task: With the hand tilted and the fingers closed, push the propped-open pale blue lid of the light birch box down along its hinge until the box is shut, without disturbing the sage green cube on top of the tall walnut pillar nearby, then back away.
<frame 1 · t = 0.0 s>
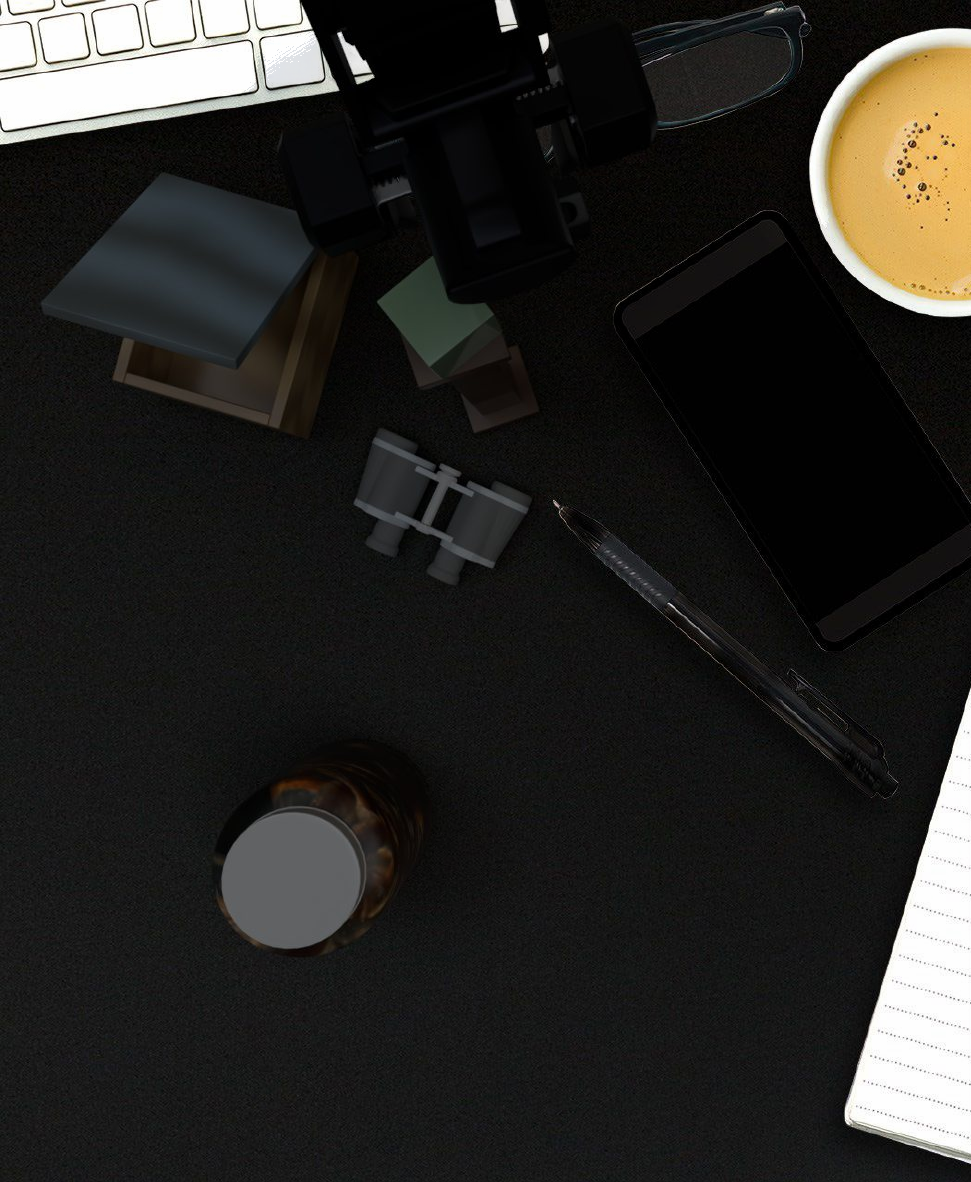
hand: (488, 194, 62), 13 cm above the table, tool pointing down, fingers open, 9 cm apart
box: (257, 326, 76), on the table
cube: (448, 325, 54), point 22 cm above the table, touching pillar
lid: (197, 264, 64), point 12 cm above the table, hinge at 40.0°
binoculars: (437, 514, 77), on the table
pillar: (497, 391, 76), on the table
jar: (354, 816, 78), on the table
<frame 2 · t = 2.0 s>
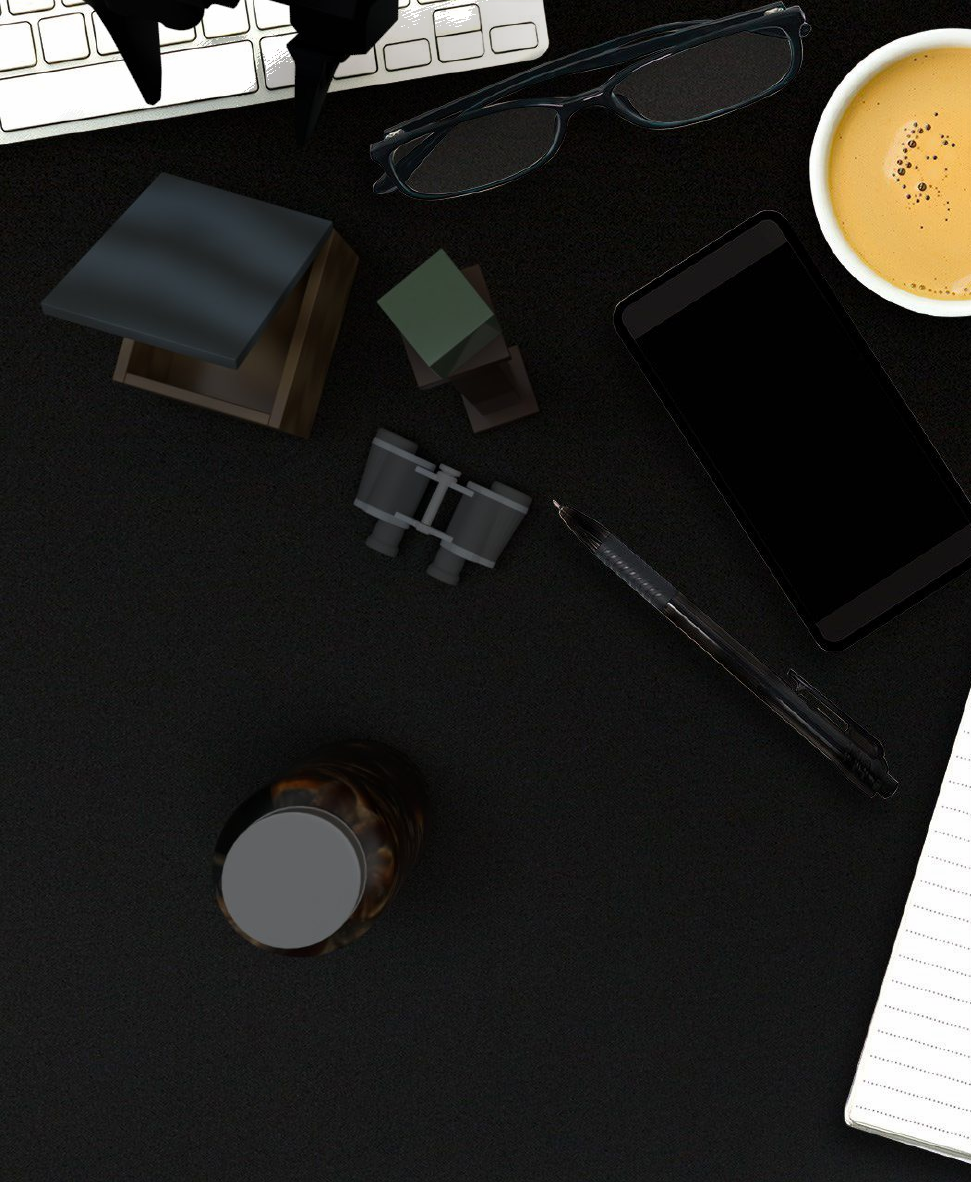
hand: (228, 123, 62), 13 cm above the table, tool tilted 45°, fingers open, 9 cm apart
nothing on the table moved.
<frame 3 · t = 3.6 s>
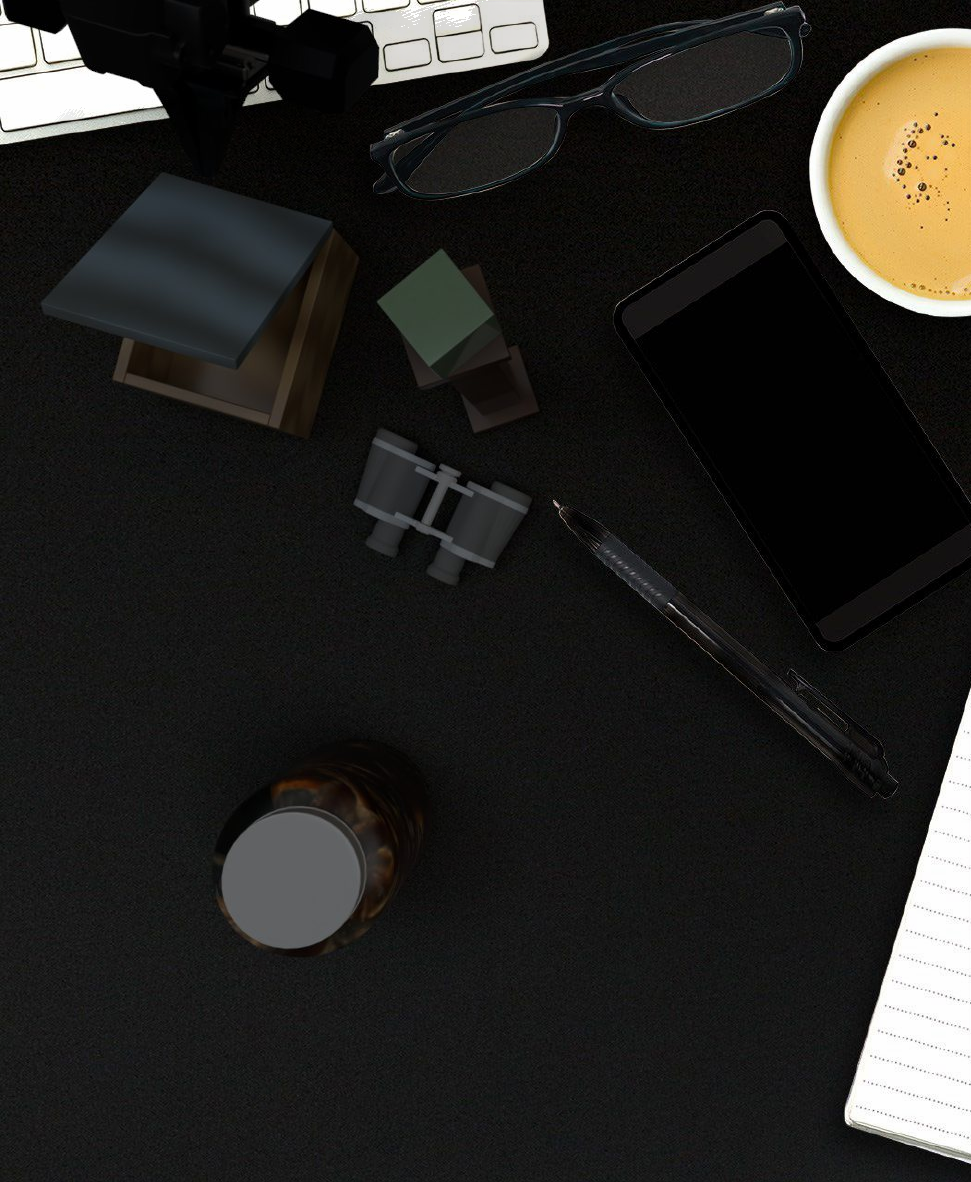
hand: (208, 175, 62), 14 cm above the table, tool tilted 45°, fingers closed
nothing on the table moved.
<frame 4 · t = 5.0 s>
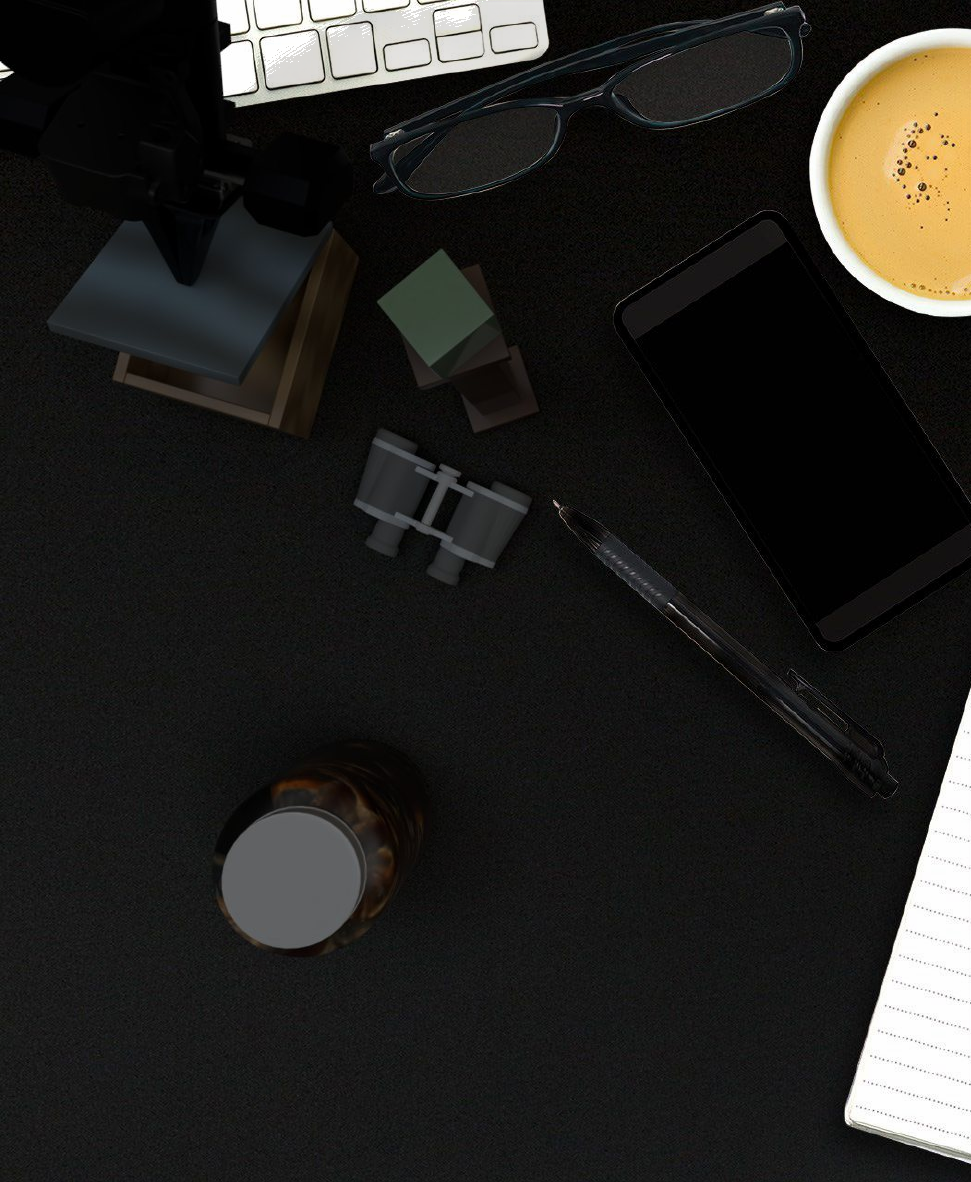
hand: (187, 281, 64), 12 cm above the table, tool tilted 45°, fingers closed, pressing on lid
lid: (198, 273, 65), point 11 cm above the table, hinge at 34.6°, touching gripper
everything else where it was.
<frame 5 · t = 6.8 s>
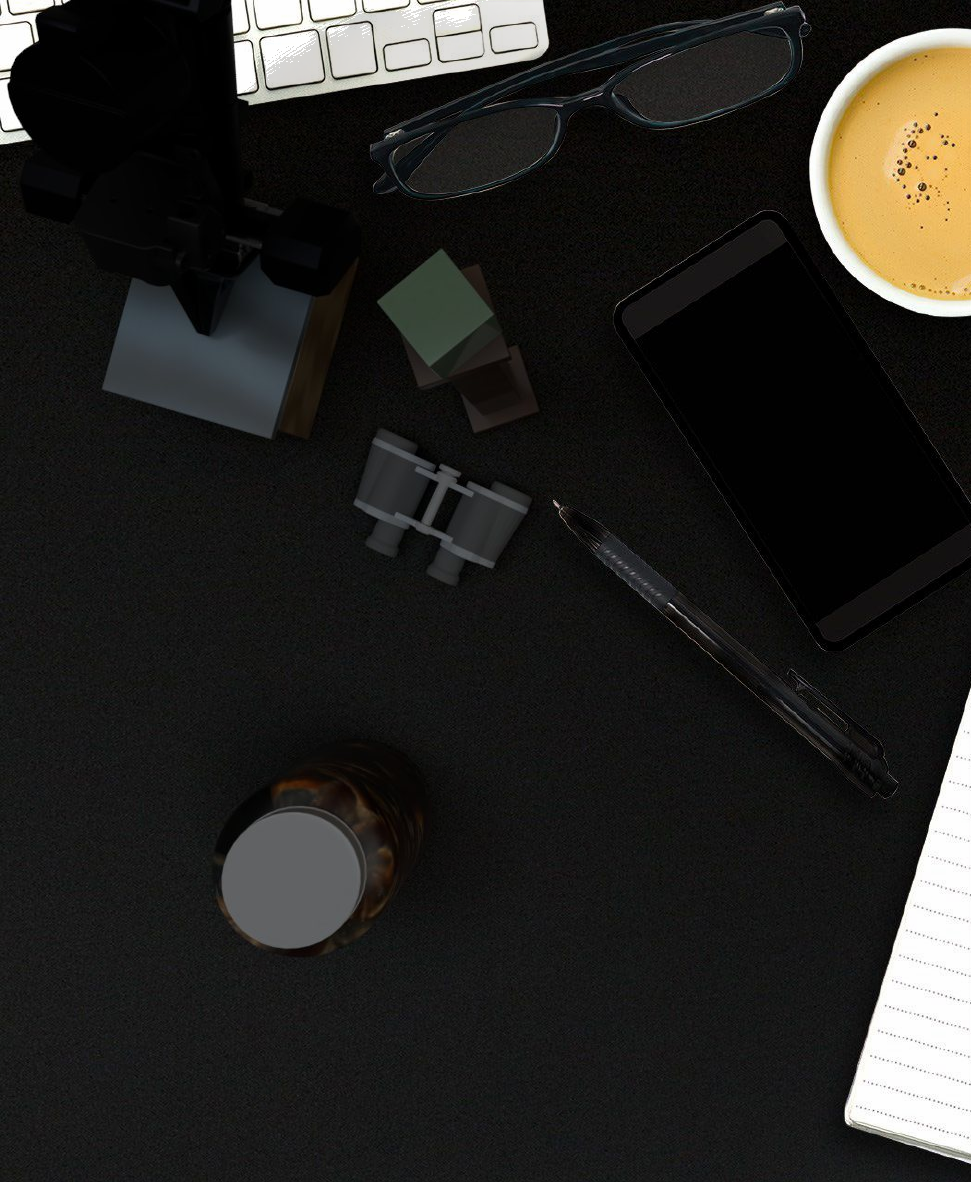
hand: (206, 331, 68), 8 cm above the table, tool tilted 45°, fingers closed, pressing on lid
lid: (218, 308, 69), point 7 cm above the table, hinge at 0.4°, touching gripper
everything else where it was.
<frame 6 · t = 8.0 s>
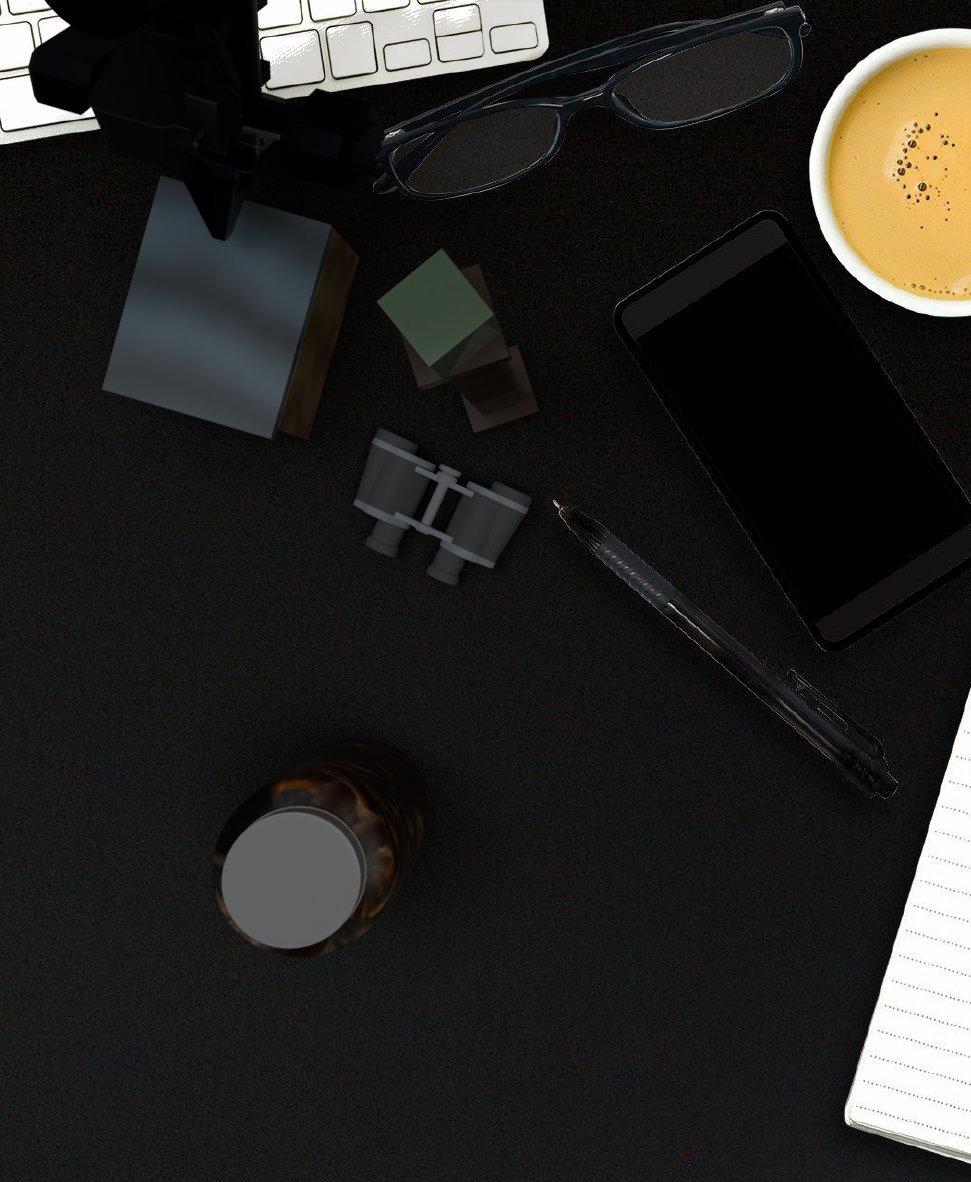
hand: (222, 237, 67), 10 cm above the table, tool tilted 45°, fingers closed
lid: (218, 308, 69), point 7 cm above the table, hinge at 0.4°
everything else where it was.
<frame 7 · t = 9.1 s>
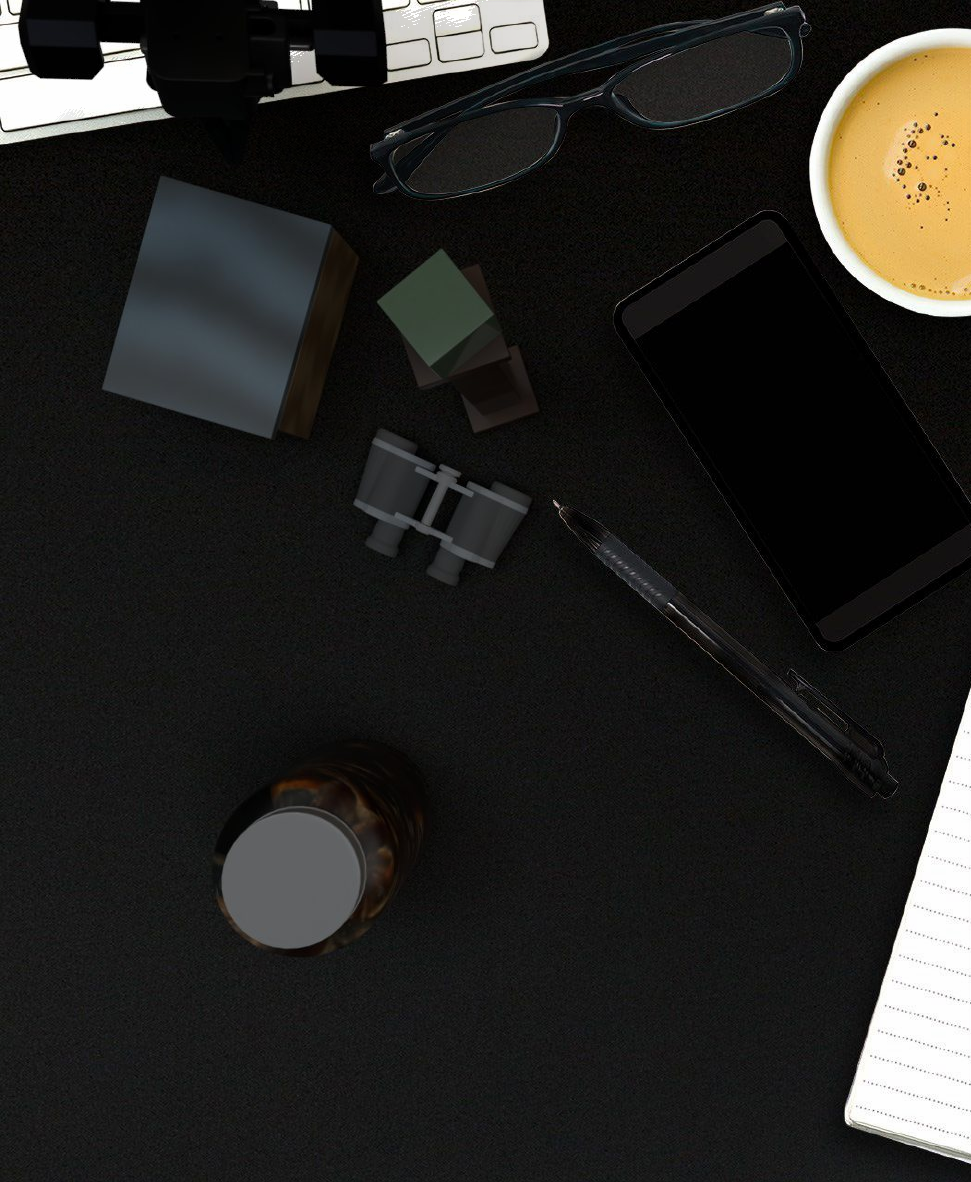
hand: (234, 161, 65), 11 cm above the table, tool tilted 35°, fingers closed
nothing on the table moved.
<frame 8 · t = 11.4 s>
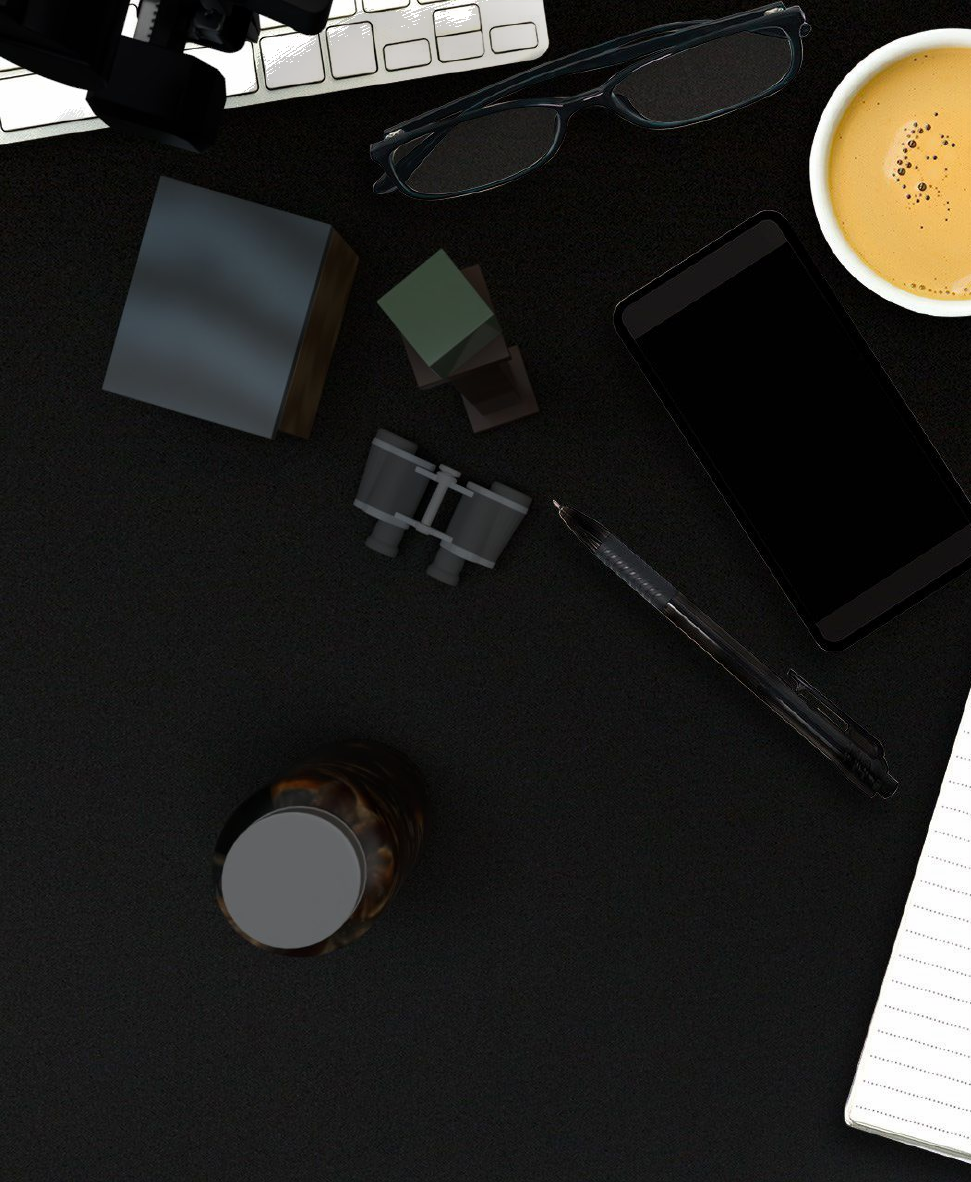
hand: (251, 35, 63), 13 cm above the table, tool pointing down, fingers closed
nothing on the table moved.
at the end: lid at +0° (first picture: +40°); cube 0.0 cm off-centre on the pillar, point 22.0 cm above the pillar's base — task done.
